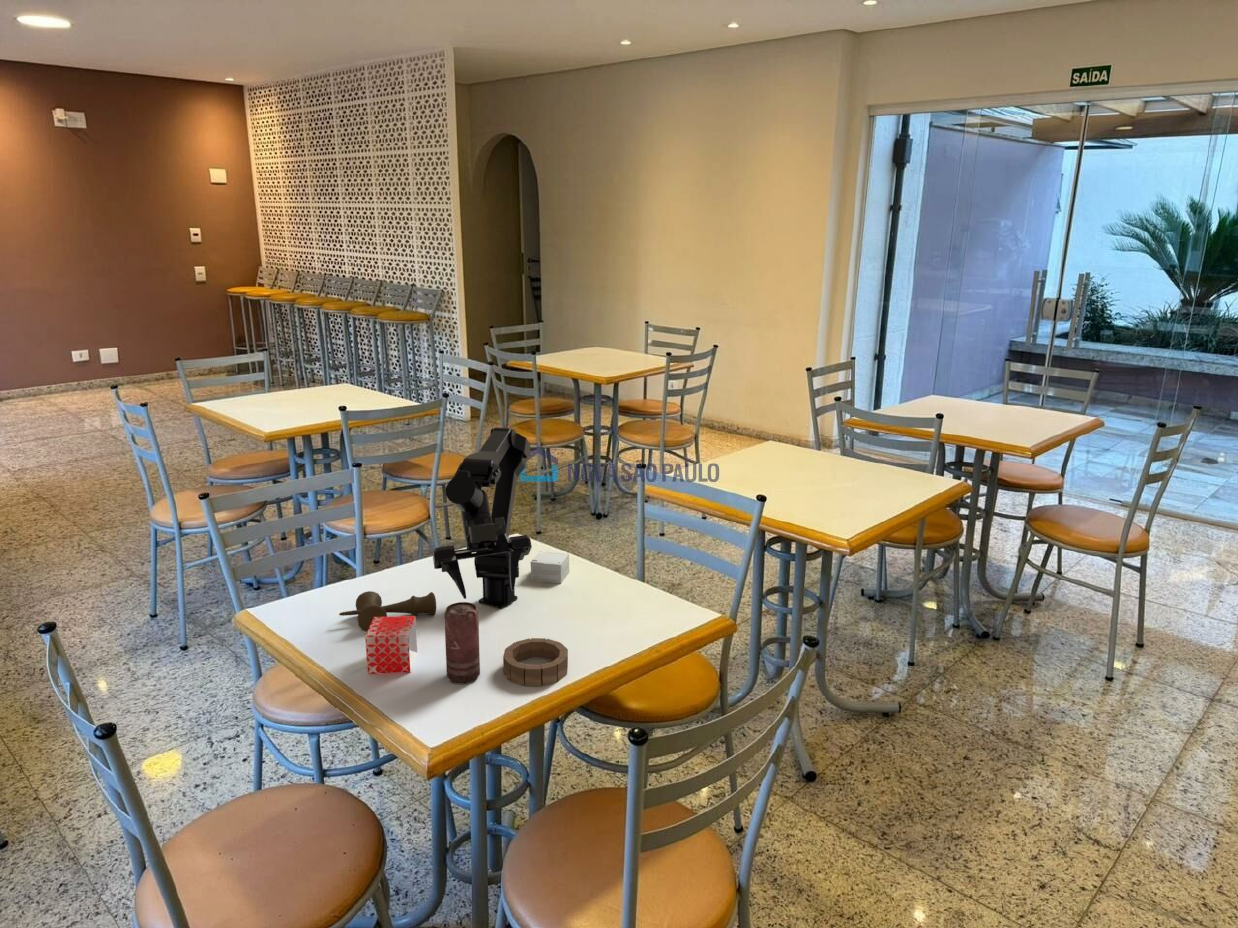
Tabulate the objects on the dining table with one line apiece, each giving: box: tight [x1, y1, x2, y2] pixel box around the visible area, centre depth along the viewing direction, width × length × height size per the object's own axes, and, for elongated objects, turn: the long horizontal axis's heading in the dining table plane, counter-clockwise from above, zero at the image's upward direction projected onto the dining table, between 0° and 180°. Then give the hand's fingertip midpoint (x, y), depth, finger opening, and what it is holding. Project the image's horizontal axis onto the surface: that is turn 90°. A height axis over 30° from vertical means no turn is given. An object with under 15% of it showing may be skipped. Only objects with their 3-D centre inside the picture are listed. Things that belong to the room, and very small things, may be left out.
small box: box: [529, 550, 570, 585], centre depth 198 cm, size 8×8×5 cm
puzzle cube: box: [364, 615, 418, 675], centre depth 156 cm, size 8×8×8 cm
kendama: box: [338, 590, 437, 633], centre depth 174 cm, size 6×10×20 cm
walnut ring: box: [502, 637, 569, 687], centre depth 155 cm, size 12×12×4 cm
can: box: [443, 601, 481, 685], centre depth 151 cm, size 6×6×14 cm
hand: (489, 594), depth 156 cm, fingers open, 9 cm apart
